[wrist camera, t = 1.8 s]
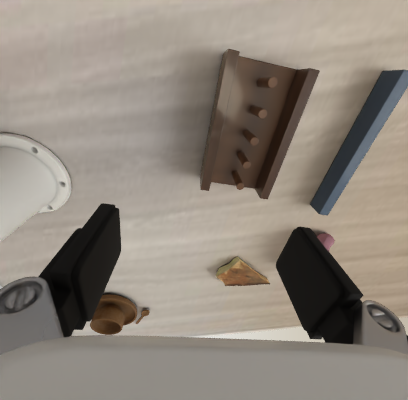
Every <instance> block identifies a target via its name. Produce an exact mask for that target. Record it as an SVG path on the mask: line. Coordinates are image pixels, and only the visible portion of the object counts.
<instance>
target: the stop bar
mask: <svg viewBox="0 0 408 400" xmlns="http://www.w3.org/2000/svg"><path fill="white" fill-rule="evenodd" d="M407 87H408V70H392V71H383V72H382V73H381V75H380V77H379V79H378V81H377V83H376V84H375V86H374V88H373V90H372V92H371V94H370V95H369V97H368V99H367V101H366V103H365V105H364V106H363V108H362V110H361V112H360V114H359V116H358V117H357V119H356V121H355V123H354V125H353V127H352V128H351V130H350V132H349V134H348V136H347V138H346V139H345V141H344V143H343V145H342V147H341V149H340V150H339V152H338V154H337V156H336V158H335V160H334V161H333V163H332V165H331V167H330V169H329V171H328V172H327V174H326V176H325V178H324V180H323V182H322V183H321V185H320V187H319V189H318V191H317V193H316V194H315V196H314V198H313V200H312V202H311V204H310V205H311V206H312V207H313V208H314V209H315V210H316V211H317V212H318V214H321V215H328V214H329V212H330V211H331V209H332V208H333V206H334V204H335V203H336V201H337V200H338V198H339V196H340V195H341V193H342V191H343V190H344V188H345V187H346V185H347V183H348V182H349V180H350V179H351V177H352V175H353V174H354V172H355V171H356V169H357V167H358V166H359V164H360V163H361V161H362V159H363V158H364V156H365V154H366V153H367V151H368V150H369V148H370V146H371V145H372V143H373V142H374V140H375V138H376V137H377V135H378V134H379V132H380V130H381V129H382V127H383V126H384V124H385V122H386V121H387V119H388V117H389V116H390V114H391V113H392V111H393V109H394V108H395V106H396V105H397V103H398V101H399V100H400V98H401V97H402V95H403V93H404V92H405V90H406V89H407Z"/></svg>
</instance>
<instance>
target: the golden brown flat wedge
mask: <svg viewBox="0 0 408 400" xmlns="http://www.w3.org/2000/svg"><path fill="white" fill-rule="evenodd" d="M216 277H217V278H218V279H220V280H221V281H223V282H224V284H225V286H236V285H238V286H247V285H258V284H270V283H269V282H268V280H267V278H266V277H264V276H263V275H261V274H259V273H258V272H256V271H255V270H253V269H252V268H250V267H249V266H248V265H247V264H246V263H244V262H243V261H242V260H241V259H239V257H236V258H234V259H233V260H232V261H231V262H230V263H229V264H228V265H225V266H222V267H221V268H219V269H218V272H217V274H216Z"/></svg>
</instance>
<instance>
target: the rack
mask: <svg viewBox="0 0 408 400" xmlns="http://www.w3.org/2000/svg"><path fill="white" fill-rule="evenodd" d="M319 72H320V71H319V70H315V69H311V68H308V69H300V70H295V69H291V68H287V67H283V66H278V65H274V64H270V63H266V62H261V61H257V60H253V59H249V58H244V57H240V56H239V51H235V50H231V49H228V50H227V51H226V52H225V53H224V54H223V58H222V63H221V68H220V74H219V79H218V84H217V90H216V95H215V100H214V106H213V111H212V116H211V122H210V127H209V132H208V138H207V143H206V148H205V154H204V159H203V165H202V170H201V175H200V186H201V190H207V191H209V188H210V184H211V182H215V183H222V184H228V185H235V186H236V187H237V189H239V190H241V189H243V188H244V187H248V188H255V190H256V192H257V193H258V195H259V197H260V198H263V199H268V197H269V195H270V192H271V190H272V187H273V185H274V182H275V180H276V177H277V175H278V172H279V170H280V168H281V165H282V163H283V160H284V158H285V155H286V153H287V150H288V148H289V145H290V143H291V140H292V138H293V136H294V133H295V131H296V128H297V126H298V123H299V121H300V118H301V116H302V113H303V111H304V109H305V106H306V104H307V101H308V99H309V96H310V94H311V91H312V89H313V86H314V84H315V81H316V79H317V77H318V74H319Z"/></svg>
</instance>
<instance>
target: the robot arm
mask: <svg viewBox="0 0 408 400" xmlns="http://www.w3.org/2000/svg"><path fill="white" fill-rule="evenodd" d="M71 188H72V186H71V180H70V177H69V174H68V172H67V170H66V168H65V167H64V165H63V164H62V163H61V161H60V160H59V159H58V158H57V157H56V156H55V155H54V154H53V153H52V152H51V151H50V150H48V149H47V148H46V147H44V146H43V145H41V144H39V143H38V142H36V141H34V140H32V139H29V138H27V137H24V136H21V135H16V134H9V133H2V134H0V242H1V241H3V240H4V239H5V238H6V237H8V236H9V235H10V234H11V233H13V232H14V231H15V230H16V229H17V228H19V227H20V226H21V225H22V224H24V223H25V222H26V221H27V220H28V219H30V218H31V217H32V216H33V215H35V214H36V213H47V212H52V211H55V210H57V209H59V208H60V207H61V206H63V205H64V204H65V203H66V202H67V200H68V199H69V197H70V194H71ZM120 252H121V236H120V218H119V209H118V208H115V205H111V204H101V205H100V206H99V207H98V209H97V210H96V211H95V212H94V214H93V215H92V216H91V218H90V219H89V220H88V222H87V223H86V224H85V225H84V227H83V228H82V229H81V228H79V229H77V230H76V231H75V232H74V233H73V234H72V236H71V237H70V238H69V239H68V240H67V242H66V243H65V244H64V245H63V247H62V248H61V249H60V250H59V252H58V253H57V254H56V255H55V257H54V258H53V259H52V260H51V262H50V263H49V264H48V265H47V267H46V268H45V269H44V270H43V272H42V273H41V274H40V275H39V277H25V278H22V279H18V280H16V281H14V282H11V283H9V284H7V285H6V286H4V287H3V288H2V289H0V400H408V336H407V335H406V332H405V329H404V326H403V324H402V323H401V321H400V320H399V318H398V317H397V316H396V315H395V314H394V313H393V312H391V311H390V310H389V309H388V308H386V307H385V306H383V305H382V304H380V303H377V302H375V301H371V300H366V301H364V302H363V303H362V301H361V300H360V298H361V297H362V296H363V294H362V293H361V291H360V290H359V289H358V288H357V286H356V285H355V284H354V283H353V281H352V280H351V279H350V278H349V276H348V275H347V274H346V273H345V271H344V270H343V269H342V268H341V266H340V265H339V264H338V263H337V261H336V260H335V259H334V258H333V256H332V255H331V254H330V253H329V251H328V250H327V249H326V248H325V246H324V245H323V244H322V243H321V241H320V240H319V239H318V238H317V236H316V235H315V234H314V233H313V231H312V230H311V229H310V228H305V227H297V228H296V229H294V230H293V232H292V234H291V236H290V237H289V239H288V241H287V243H286V245H285V247H284V249H283V251H282V253H281V255H280V256H279V258H278V260H277V262H276V268H277V270H278V273H279V275H280V277H281V279H282V282H283V284H284V286H285V288H286V291H287V293H288V295H289V297H290V300H291V302H292V304H293V306H294V309H295V311H296V313H297V315H298V318H299V320H300V322H301V324H302V327H303V328H304V330H306V331H307V333H308V335H309V337H310V339H321V338H322V337H323V338H324V340H325V343H320V342H296V341H274V340H272V341H271V340H248V339H220V338H219V339H218V338H192V337H161V336H113V335H92V336H71V335H72V332H73V330H74V329H75V330H83V328H84V326H85V323H86V321H91V319H92V318H93V315H94V313H95V311H96V308H97V306H98V304H99V301H100V299H101V297H102V295H103V292H104V290H105V288H106V285H107V283H108V281H109V278H110V276H111V274H112V271H113V269H114V267H115V265H116V262H117V260H118V258H119V255H120ZM69 336H71V337H69Z"/></svg>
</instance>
